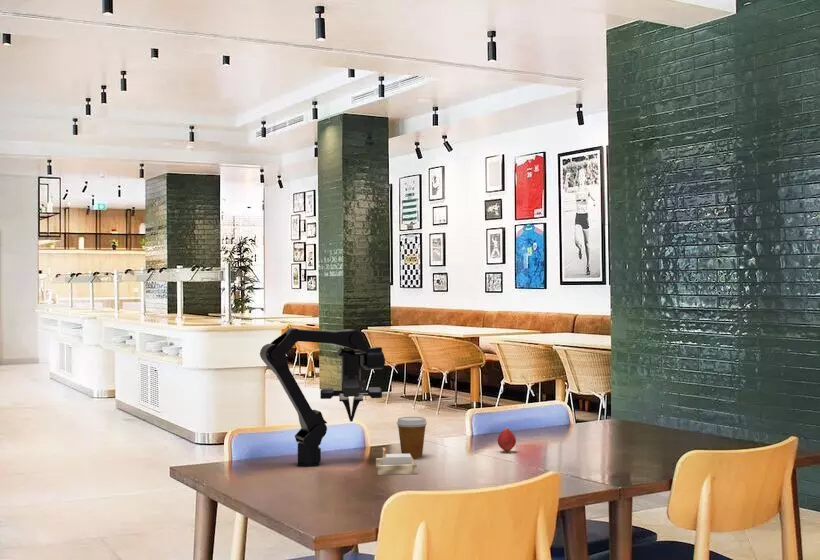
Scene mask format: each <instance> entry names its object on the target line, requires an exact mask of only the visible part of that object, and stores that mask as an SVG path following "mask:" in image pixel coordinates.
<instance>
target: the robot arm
mask: <svg viewBox="0 0 820 560" xmlns="http://www.w3.org/2000/svg"><path fill="white" fill-rule="evenodd" d="M299 342H304V343H305V342H307V343H317V344H318V343H321V344H332V345H335V346H339V349H338V351H336V352H335V353H334V356H337V357H341V389H340V390H339V389H335V390H334V387H322V388H321V389H320V399H322V400H327V399H329V400H331V399H332V398H334V397H338V399H339V402H342V403H343V404H344V408H345V410H346V413H347V416H348V420H349V422H353V421H354V418H355V415H356V411H357V409H358V406H359V404H360V402H364V396H365V397H369V398H371V399H382V398H383V390H382V388H381V387H379V386H378V387H377V386H376V387H375V386H374V387H373V386H372V387H370V386H369V387H368V389H366V388H367V387H366V386H367V384H366V380H364V379H363V380H361V367H362V368H363V370H364V371H365V370H367V371H368V370H382V369H384V367H385V365H386V358H385V354H384V352H383V348H382V347H380V346H375V347H368V345H367V343H365V341H364V340H363V334H362V333H361V331H359V330H358V329H352V328H351V329H350V328H346V329H338V330H329V331H328V330H326V331H325V330H317V329H316V330H313V329H312V330H311V329H300V328H296V327H295V328H294V327H290V328H288V329H287V330H286V331H285V332H283V333H282V334H281V335H279V336H278V337H276V338H275V339H274V340H272V341H271V342H270V343H267V344H265V345H263V346H262V347H261V349H260V352H259V357H260V359H261V360H262V361H263V363H264V364H265V365H266V366H267V367H268V369H270V370H271V372H273V373H274V374H275V376H276V378H277V379H278V380H279V383H280V384H281V386H282V389H283V390H284V392H285V393H286V396H287V397H288V399H289V400H290V402H291V404H292V406H293V408H294V409H295V411H296V413H297V416H298V422H299V425H300V429H299V430H298V432H296V434H295V435H294V439H295V442H296V443H297V463H296V466H297V467H309V466H310V467H311V466H313V467H316V466H320V463H321V462H322V458H321V456H322V450H321V447H320V446H321V444H322V440H323V438H324V437H325V435H326V434H327V431H328V427H327V424H328V421H326V419H324V416H323V413H322V412H321V411H320V410H316V409H312V407H311V406H310V403H309V402H308V400H307V399H306V398H307V397H306V396H305V395H304V393H303V391H302V389H301V388H300V386H299V384H298V382H297V380H296V378H295V377H294V376H293V375H294V374H292V371H291V370H290V366H289V360H288V358H287V354H288V353H289V352H290V351H291V350H292V349H293V347H294V346H295V345H296V344H297V343H299ZM344 348H349V349H347V350H346V349H344ZM355 351H358V352H355ZM350 397H353V399H352V406H351V405H350ZM351 407H352V409H351Z"/></svg>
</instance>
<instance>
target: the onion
mask: <svg viewBox="0 0 820 560" xmlns="http://www.w3.org/2000/svg"><path fill="white" fill-rule="evenodd" d="M497 444H498V446H499V448H500V449H502V450H503V451H504V452H505V453H509V452H510V451H511V450H512V449H513V448H514V447H515V446H516V444H517V437H516V435H515V434H514V433H513V431H510V429H509V427H508V426H507V427H506V428H505V429H504V430H502V431H501V432H500V433H499V435H498V437H497Z"/></svg>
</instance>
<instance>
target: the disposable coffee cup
mask: <svg viewBox="0 0 820 560" xmlns="http://www.w3.org/2000/svg"><path fill="white" fill-rule="evenodd" d="M427 423H428V422H427V420H426V417H424V416H402V417H398V419H397V421H396V425H397V428H398V436H399V444H400V451H401V453H400V454H410V455H411V457H412V458H416V459H421V458H422V457H423V451H424V442H425V433H426V426H427Z"/></svg>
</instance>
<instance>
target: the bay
mask: <svg viewBox="0 0 820 560" xmlns="http://www.w3.org/2000/svg"><path fill="white" fill-rule="evenodd" d="M417 466H418V465H417V463H416V461H415V459H413V458H412V464H407V465H383V457H378V458H375V468H376V469H377V475H378V476H379V475H380V476H381V475H382V476H383V475H384V476H387V475H390V476H391V475H417V474H418V471H417V470H418V467H417Z"/></svg>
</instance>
